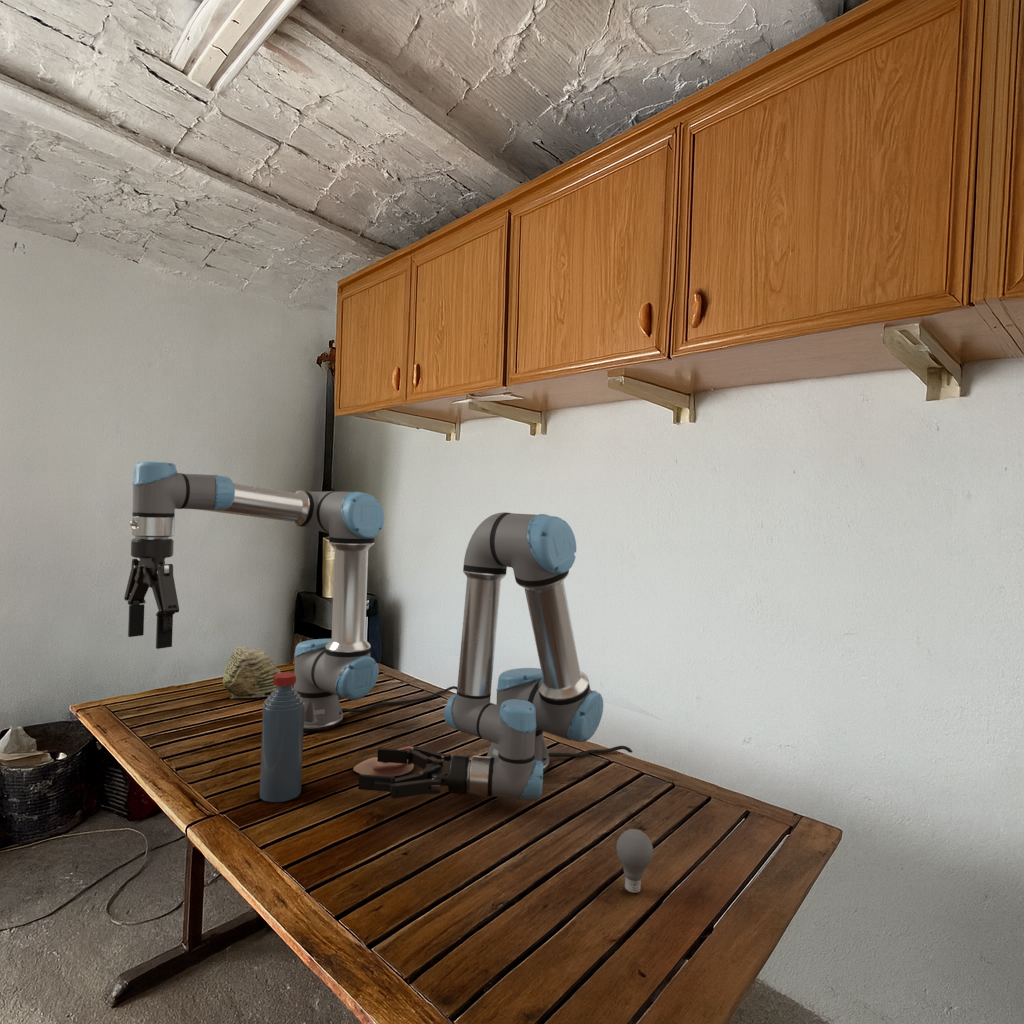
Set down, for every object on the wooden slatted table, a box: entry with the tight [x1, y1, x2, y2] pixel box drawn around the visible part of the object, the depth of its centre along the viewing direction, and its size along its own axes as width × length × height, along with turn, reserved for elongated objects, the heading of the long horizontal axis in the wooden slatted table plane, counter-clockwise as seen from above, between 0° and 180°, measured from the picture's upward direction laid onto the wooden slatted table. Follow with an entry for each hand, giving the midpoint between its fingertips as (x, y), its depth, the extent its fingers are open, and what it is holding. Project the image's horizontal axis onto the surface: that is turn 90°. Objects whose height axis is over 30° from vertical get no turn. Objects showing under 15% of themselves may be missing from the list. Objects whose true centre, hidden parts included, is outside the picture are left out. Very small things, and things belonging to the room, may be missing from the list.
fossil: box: [222, 646, 282, 699], centre depth 198 cm, size 9×18×15 cm, turn 132°
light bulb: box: [615, 828, 654, 894], centre depth 106 cm, size 6×6×10 cm
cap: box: [273, 671, 296, 686], centre depth 134 cm, size 4×4×2 cm
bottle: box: [258, 684, 305, 803], centre depth 134 cm, size 8×8×25 cm
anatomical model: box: [352, 746, 415, 777], centre depth 149 cm, size 13×4×12 cm
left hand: (149, 641), depth 129 cm, fingers open, 13 cm apart
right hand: (368, 767), depth 133 cm, fingers open, 13 cm apart
